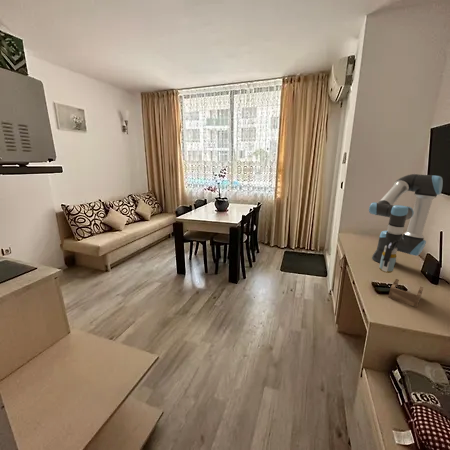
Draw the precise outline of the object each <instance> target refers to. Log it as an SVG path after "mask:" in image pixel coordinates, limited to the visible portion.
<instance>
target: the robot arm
mask: <svg viewBox="0 0 450 450" xmlns="http://www.w3.org/2000/svg"><path fill="white" fill-rule="evenodd" d="M443 180H444V179H443V177H442V176H441V175H432V174H418V173H417V174H415V173H411V174H407V175H404V176H402V177H400V178H398V179H396V180H395V181H394V183H393V184H392V186H391V188H390V189H389V190H388V191H387V192H386V193H385V194H384V195H383V197H382V198H380V200H379V201H378V202H371V203H370V205H369V206H368V207H369V208H368V211H369V213H370V214H371V215H375V216H381V217H384V218H385V217H387V218H389V220H388V225H386V228H387V229H386V230H382V231H381V232H380V234H379V236H378V237H379V238H378V241H377V246H376V250H375V251H374V252H373V254H372V255H371V256H372V257H371V260H372V261H375V262H376V263H378V264H380V262H381V257H382V253H383V252H384V248H385V246H386V245H387V248H386V252H385V256H384V259H383V261H384V262H383V267H382V271H381V272H383V271H386V272H387V270H388V266H389V262H390V261H389V260H390V257H391V253H392V250H393V249H394V247H396V248H397V252H401V253H404V254H407V255H410V256H419V255H421V253H422V251H423V250H424V248H425V246H426V243H427V240H425V236H424V235H423V232H424V229H425V225H426V223H427V219H428V215H429V213H430V209H431V205H432V202H433V200H434V199H436V198H437V196H439V195H441V193H442V190H443V182H444V181H443ZM407 192H414V196H415V200H414V204H413V208H412V207H411V206H405V205H400V204H397V205H395V203H396V202H397V201H398V200H399V198H400V197H402V196H403V194H405V193H407ZM407 220H409V223H408V226H407V228H406V229H407V230H406V231H405V232H404V229H405V223H406V221H407ZM396 261H397V259H396V260H395V264H396V263H397V262H396ZM386 272H385V273H386Z"/></svg>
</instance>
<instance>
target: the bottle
mask: <svg viewBox="0 0 450 450" xmlns="http://www.w3.org/2000/svg"><path fill="white" fill-rule="evenodd" d="M386 248H387V245H386V246H385V248H384V252H383V253H382V257H381V262H380V263H379V270H380V271H381V272H383V273H387V274H390V273H393V272H394V267H395V264H396V263H395V260H396V261H397V252H398V251H397V248H396V247H394V249H393V250H392V253H391V257H390V260H389V261H390V262H389V266H388V270H387V272H386V271H382V267H383V262H384V261H383V259H384V256H385V252H386Z"/></svg>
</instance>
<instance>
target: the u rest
mask: <svg viewBox="0 0 450 450" xmlns="http://www.w3.org/2000/svg"><path fill="white" fill-rule="evenodd" d="M399 281H400V280H399V279H397V278H396V279H395V280H394V282H393V283H392V285H391V286H390V289H389V292H388V298H389V299H393V300H395V301H397V302H400V303H404V304H407V305H409V306H411V307H415V308H417V307H418V306H419V303H420V300H421V297H422V294H423V290H424V287H422V286H419V288H418V291H417V293H416V294H415V293H412V292H408V291H406V290H404V289H399V288H398V285H399ZM396 287H397V288H396Z"/></svg>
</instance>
